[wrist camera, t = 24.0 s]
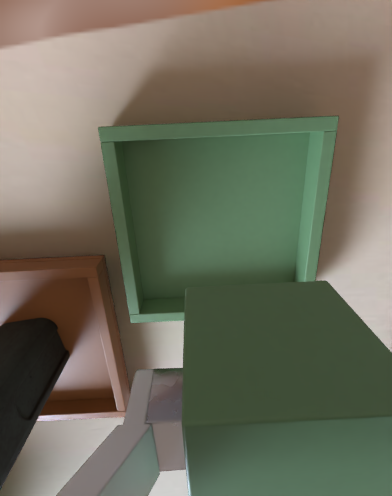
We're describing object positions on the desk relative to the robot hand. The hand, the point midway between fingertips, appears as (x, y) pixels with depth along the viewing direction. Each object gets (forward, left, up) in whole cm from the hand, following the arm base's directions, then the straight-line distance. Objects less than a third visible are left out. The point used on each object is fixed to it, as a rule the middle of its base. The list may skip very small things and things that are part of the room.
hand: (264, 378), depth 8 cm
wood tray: (+10, -16, -14) cm, 23 cm away
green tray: (0, 0, -14) cm, 14 cm away
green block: (0, 0, -2) cm, 2 cm away
